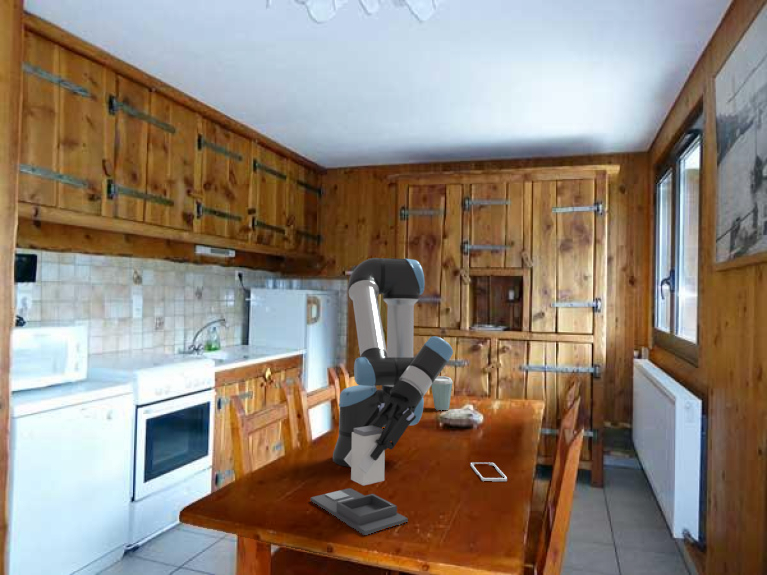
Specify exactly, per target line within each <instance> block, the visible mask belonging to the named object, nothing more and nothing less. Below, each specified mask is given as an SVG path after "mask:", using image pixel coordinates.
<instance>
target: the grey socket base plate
mask: <svg viewBox="0 0 767 575" xmlns="http://www.w3.org/2000/svg"><path fill="white" fill-rule="evenodd" d="M311 501H312V502H313V503H312V502H311ZM310 502H311V503H312V504H314V503H315V504H317V505H318V506H317V505H316V506H317V507H319V506H320V507H321V508H320V507H319V508H320V509H322V508H323V509H325V510H326V511H328V512H329V513H328V512H327V513H328V514H330V513H331V514H332V515H331V514H330V515H331V516H333V515H334V516H336V517H337V518H336V517H335V518H336V519H337V520H339V519H340V522H342V521H343V522H342V523H344V522H345V523H346V525H347V526H348V527H349V528H352V529H353V528H354V529H353V530H355V529H356V530H355V531H357V532H358V531H359V532H358V533H359V534H361V533H362V534H361V535H363V536H364V535H367V536H369V535H368V534H370V535H372V534H371V533H373V534H375V533H374V532H376V531H379V530H382V529H385V528H388V527H392V526H395V525H399V524H402V523H404V522H409V521H408V520H409V519H408V517H406V516H405V515H402V514H400V513H398V506H397V505H396V504H394V503H392V502H390V501H388V500H387V499H384V498H382V497H380V496H378V495H377V494H375V493H371V494H367V495H364V494H363V493H360V492H359V491H357V490H356V489H355V490H354V489H353V488H351V487H349V488H344V489H340V490H336V491H332V492H328V493H323V494H320V495H315V496H312V497H310ZM315 504H314V505H315ZM323 509H322V510H323ZM325 510H324V511H325ZM326 511H325V512H326ZM334 516H333V517H334ZM345 523H344V524H345ZM402 525H403V524H402ZM399 526H400V525H399ZM376 533H377V532H376Z"/></svg>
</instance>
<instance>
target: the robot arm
mask: <svg viewBox="0 0 767 575" xmlns="http://www.w3.org/2000/svg"><path fill="white" fill-rule="evenodd" d="M424 274H425V273H424V271H423V267H422V265H421V263H420V262H419V261H418V260H416V259H411V258H384V257H383V258H382V257H381V258H380V257H372V258H368V259H365V260H363V261H361V263H359V264H358V265H357V266H356V267H355V268H354V269H353V271H352V272H351V274H350V276H349V279H348V284H347V290H348V297H349V298H350V300H351V301H352V305H353V312H354V321H355V327H356V334H357V342H358V349H359V357H356V358H355V361H354V364H353V375H354V382H355V383H356V384H357V385H352V386H349V387H346V388H343V390H342V391H341V392H340V393H339V402H338V407H339V412H338V414H339V416H338V419H339V420H338V436H337V437H338V438H337V439H336V440H337V441H336V443H335V446H334V449H333V451H332V462H335V465H336V464H337V465H338V466H341V467H347V468H348V467H349V468H351V456H352V432H354V428H359V427H365V426H376V427H379V428H382V427H384V426H385V428H384V429H383V432H382V434H381V436H380V438H379V440H376V442H377V443H378V444H377V443H375V442H374V443H373V445H372V446H371V448H370V449H369V450H368V452H367V453H366V455H365V456H364V457H363V459H362V460H361V462H360V463H359V464H358V467H359V468H360V469H361V470H362V471H363V472H364V473H367V472H368V470H369V469H370V468H371V466H372V465H373V463H374V462H375V461H376V460H377V459H378V458H379V456H380V455H381V453H382V452H383V451H384V450H385V451H386V450H388V449H389V450H393V449H394V448H395V446H396V445H397V443H398V442H399V441H400V439H401V437H402V436H403V434H404V432H406V430H407V429H408V427H409V426H415V425H417V424H418V423H419V422H420V420H421V419H422V416H423V411H424V403H425V402H424V401H425V400H424V399H425V398H424V397H425V395H426V394H427V392H428V391H429V389H430V388H431V387H432V386H431V385H432V384H433V382H434V380H435V379H436V378H437V376H440V374H441V372H442V371H443V370H444V368H445V367H446V365H447V364H448V363H449V362H450V359H451V358H452V355H453V353H454V350H453V348H452V345H450V343H449V342H448V341H446V340H445V339H443V338H441V337H439V336H431V337H429V338H428V340H426V342H424V343H423V346H421V348H420V350H419V351H418V352H417V353H416V355H415V356H414V329H415V328H414V326H415V325H414V324H415V323H414V322H415V321H414V319H415V318H414V316H415V315H414V314H415V313H414V311H415V310H414V306H415V305H416V303H418V301H419V296H421V295H423V294H424V291H425V286H426V285H425V275H424ZM379 295H382V300H383V302H384V303H385V304H386V305H387V317H386V318H387V320H386V321H387V324H386V325H387V327H386V328H387V329H386V331H387V332H386V333H387V334H386V336H387V338H386V339H387V340H385V334H384V328H383V322H382V317H381V312H380V307H379V301H378V296H379ZM377 386H379V387H380V386H381V389H377Z"/></svg>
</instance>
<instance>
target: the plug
mask: <svg viewBox="0 0 767 575" xmlns="http://www.w3.org/2000/svg"><path fill="white" fill-rule="evenodd" d="M383 430H384V429H382V428H379V427H376V426H365V427H359V428H354V432H352V456H351V467H350V468H351V469H350V470H351V472H350V480H351V481H353V482H354V483H358V484H359V485H361V486H367V485H372V484H375V483H380V482H384V481H385V464H386V463H385V460H386V459H385V458H386V456H385V451H386V450H384V451H383V452H382V453H381V455H380V456H379V458H378V459H377V460H376V461H375V462H374V463H373V465H372V466H371V468H370V469H369V470H368V472H367V473H364V472H363V471H362V470H361V469H360V468H359V467H358V464H359V463H360V462H361V460H362V459H363V457H364V456H365V455H366V453H367V452H368V450H369V449H370V448H371V446H372V445H373V443H374V442H375V443H377V442H376V440H379V438H380V436H381V434H382V432H383ZM377 444H378V443H377Z"/></svg>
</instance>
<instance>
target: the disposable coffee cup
mask: <svg viewBox="0 0 767 575" xmlns="http://www.w3.org/2000/svg"><path fill="white" fill-rule="evenodd" d="M453 383H454V382H453V380H452V378H451V377H449V376H445V375H444V376H443V375H442V376H441V375H438V376H437V378H436V379H435V380H434V382H433V384H432V385H431V386H430V387H431V391H432V392H431V393H432V400H433V405H434V410H435V409H436V410H435V411H438V410H441V411H440V412H443V411H442V410H447V409H448V410H449V409H450V404H451V397H452V389H453ZM448 410H447V411H448Z"/></svg>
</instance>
